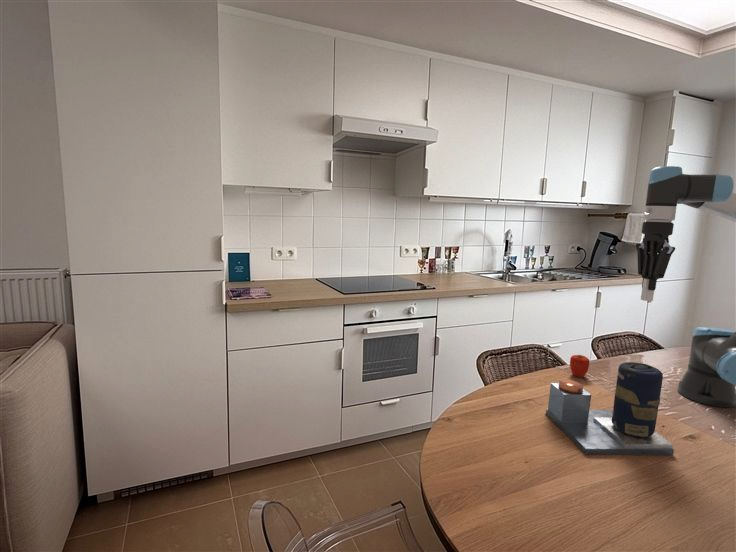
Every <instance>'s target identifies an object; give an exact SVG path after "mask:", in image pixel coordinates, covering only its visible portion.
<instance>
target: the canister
mask: <svg viewBox="0 0 736 552" xmlns="http://www.w3.org/2000/svg"><path fill="white" fill-rule="evenodd" d="M663 377H664V376H663V372H662V370H660V369H659V368H657V367H654V366H652V365H649V364H647V363H643V362H642V363H641V362H637V361H636V362H635V361H627V362H626V361H625V362H622V363H620V364H619V365H618V368H617V375H616V385H615V390H614V391H615V392H614V400H613V407H612V410H613V414H612V423H613V425H614V426H615V427H616V428H617V429H619V430H621V431H623V432H625V433H627V434H630V435H633V436H638V437H648V436H651V435H653V434H654V432H656V425H657V419H658V415H659V414H658V412H659V405H660V402H661V392H662V386H663Z"/></svg>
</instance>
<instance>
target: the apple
mask: <svg viewBox="0 0 736 552" xmlns="http://www.w3.org/2000/svg"><path fill="white" fill-rule="evenodd" d="M569 358H570V359H569V367H570V371H571V374H572V375H573V376H574V377H577V378H583V377H585V376H586V375H587V373H588V371H589V367H590V359H589V358H588V357H587V356H585V355H582V354H574V355H573V354H572V355H571V356H570V357H569Z"/></svg>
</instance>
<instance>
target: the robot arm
mask: <svg viewBox="0 0 736 552" xmlns="http://www.w3.org/2000/svg"><path fill="white" fill-rule="evenodd" d="M648 178H649V179H648V182H647V189H646V191H647V192H646V199H645V200H646V201H645V208H644V213H643V220H645V221H643V222H642V226H641V234H642V235H644V236H643V238H642V241H641V242H639V243H638V242H637V243H635V247H636V253H637V254H636V255H637V256H636V257H637V274H638V275H639V276H641V278H642V282H641V283H642V284H641V296H640V300H641V301H645V302H646V301H647V302H653V301H654V294H655V291H656V290H657V289H656V288H657V282H658V281H657V280H659V279H664V278H665V274H666V272H667V269H668V267H669V262H670V260H671V257H672V255H673V254H674V252H675V251H676V246H671V245H670V240H669V236H672V235H673V234H674V226H675V224H674V222H673V221H675V220H676V213H677V207H678V205H685V206H687V207H690V208H694V209H698V210H700V211H703V212H706V213H708V214H711V215H714V216H717V217H720V218H722V219H725V220H729V221H732V222H734V223H736V193H734V192H733V191H734V186H735V185H734V179H733V177H732V176H730V175H729V174H728V175H727V174H718V173H716V174H688V173H687V174H686V173H683V167H681V166H675V165H666V166H665V165H664V166H657V167H654V168H652V169H651V171H650V173H649V177H648ZM691 337H692V338H691V347H690V353H689V357H688V359H689V360H688V365H687V370H686V371H685V373H684V375H683V376H682V379H681V380H680V381H679V382H678V385H677V392H678V393H679V394H680V395H681V396H682V397H685V398H687V399H689V400H691V401H694V402H697V403H700V404H704V405H709V406H711V407H712V406H713V407H717V408H718V407H719V408H734V407H736V330H733V329H726V328H719V327H718V328H717V327H709V326H698V327H696V328H695V329H694V331H693V335H692V336H691Z"/></svg>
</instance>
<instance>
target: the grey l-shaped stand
mask: <svg viewBox="0 0 736 552" xmlns="http://www.w3.org/2000/svg"><path fill="white" fill-rule="evenodd" d="M548 396H549V397H548V405H547V408H546V410H545V415H546V416H547V417H548V418H549V419H550V420H551V422H553V423H554V424H555V425H556V426H557V427H558V428H559V429H560V430H561V431H562V432H563V433H564V434H565V436H567V437H568V438H569V439H570V441H572V443H573V444H574V445H576V446H577V448H579V450H580V451H581V452H582V453H583V454H584V455H590V456H591V455H596V456H597V455H604V456H605V455H609V456H610V455H611V456H613V455H614V456H618V455H619V456H624V455H625V456H674V452H675V449H674V448H673V447H674V444H673V443H672V442H670V441H669V440H667V438H665V437H664V436H662V435H660V434H659V433H658V432H657V431H655V432H654V434H653V435H651V436H648V437H638V436H633V435H630V434H627V433H625V432H623V431H621V430H619V429H617V428H616V427H615V426H614V425H613V423H612V414H613V409H591V408H590V406H591V400H592V394H591V393H589V392H588V391H587V390H585V389H584V388H583V392H581V393H571V392H566V391H564V390H562V389H560V388H559V382H550V388H549V395H548Z"/></svg>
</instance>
